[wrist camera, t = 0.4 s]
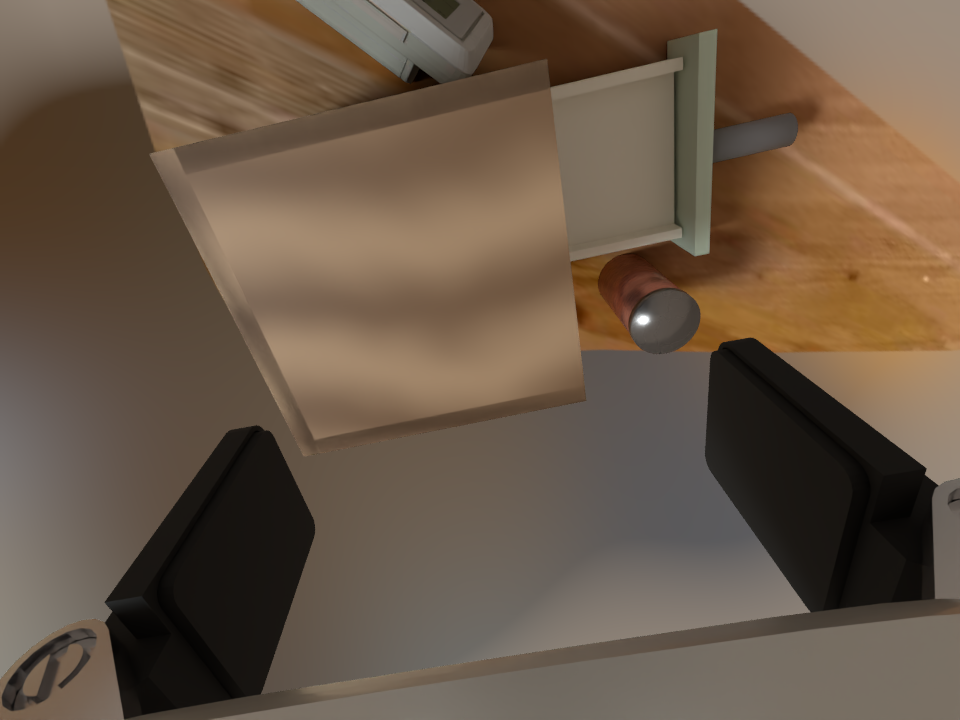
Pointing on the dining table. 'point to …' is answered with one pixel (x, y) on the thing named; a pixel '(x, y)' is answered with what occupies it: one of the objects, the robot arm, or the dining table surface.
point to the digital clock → (413, 33)
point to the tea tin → (648, 304)
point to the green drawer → (649, 151)
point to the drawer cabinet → (394, 257)
